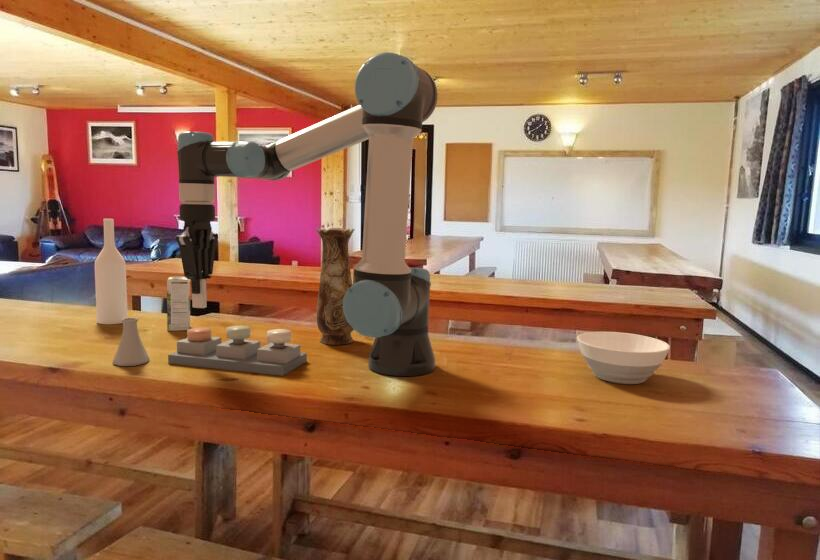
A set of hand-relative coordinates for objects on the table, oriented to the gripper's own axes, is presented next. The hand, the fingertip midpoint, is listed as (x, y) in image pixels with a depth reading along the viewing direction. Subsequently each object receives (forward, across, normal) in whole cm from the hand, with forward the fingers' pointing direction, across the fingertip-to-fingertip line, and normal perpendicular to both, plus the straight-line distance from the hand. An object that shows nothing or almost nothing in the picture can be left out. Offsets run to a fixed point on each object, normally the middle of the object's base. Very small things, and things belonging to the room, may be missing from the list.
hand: (199, 307), depth 135 cm
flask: (+12, +8, -12) cm, 19 cm away
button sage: (+8, 0, +10) cm, 13 cm away
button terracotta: (+10, 0, 0) cm, 10 cm away
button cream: (+8, 0, +20) cm, 21 cm away
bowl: (+13, -18, +94) cm, 96 cm away
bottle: (+12, -26, -46) cm, 54 cm away
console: (+12, 0, +10) cm, 16 cm away
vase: (+12, -27, +23) cm, 37 cm away
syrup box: (+12, -25, -23) cm, 36 cm away
